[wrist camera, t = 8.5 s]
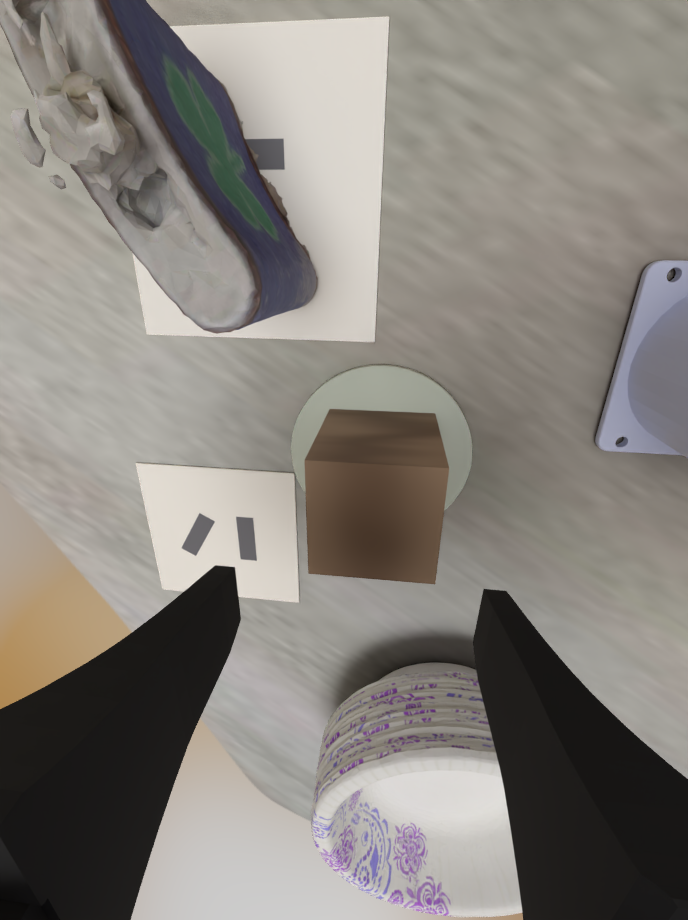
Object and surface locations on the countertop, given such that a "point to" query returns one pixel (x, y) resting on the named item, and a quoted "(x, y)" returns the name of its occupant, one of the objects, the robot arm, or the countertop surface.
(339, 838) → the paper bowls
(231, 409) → the countertop surface
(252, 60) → the code tile
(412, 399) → the plate
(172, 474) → the code tile
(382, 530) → the walnut block
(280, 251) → the flask
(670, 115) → the countertop surface
